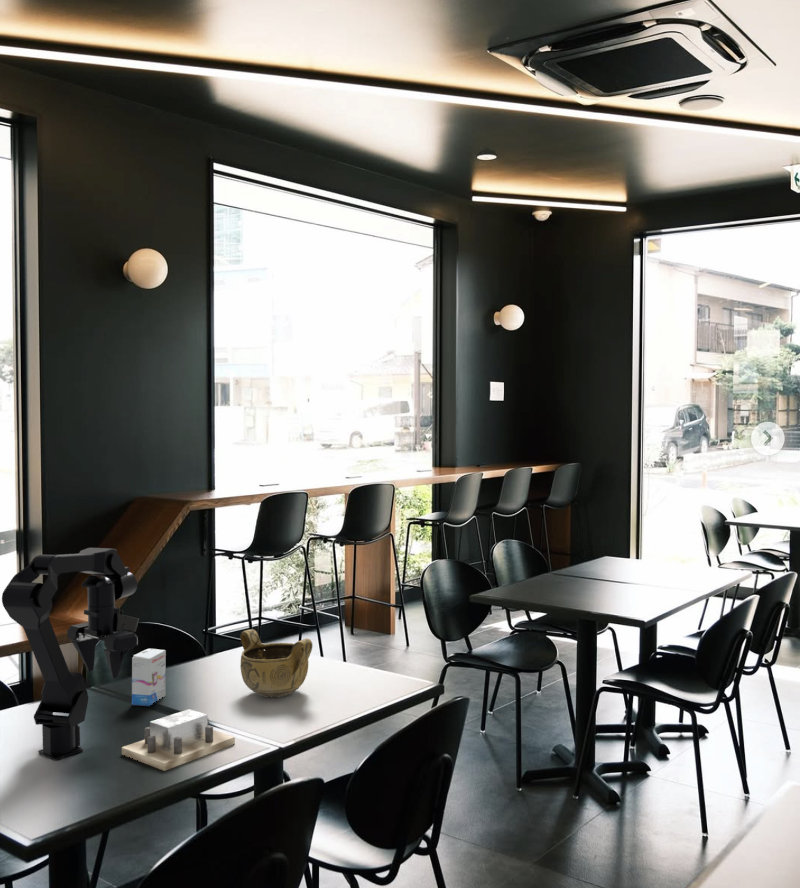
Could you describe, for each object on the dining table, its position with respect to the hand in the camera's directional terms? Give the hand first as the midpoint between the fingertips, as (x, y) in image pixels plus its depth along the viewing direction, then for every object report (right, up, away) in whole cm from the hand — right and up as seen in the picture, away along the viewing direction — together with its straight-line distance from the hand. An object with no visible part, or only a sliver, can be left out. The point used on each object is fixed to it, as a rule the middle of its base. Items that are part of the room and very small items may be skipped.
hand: (102, 674), depth 199 cm
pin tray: (+20, -12, -13) cm, 27 cm away
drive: (+20, -11, -13) cm, 26 cm away
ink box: (+5, -12, +19) cm, 23 cm away
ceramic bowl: (+35, -11, +24) cm, 44 cm away
